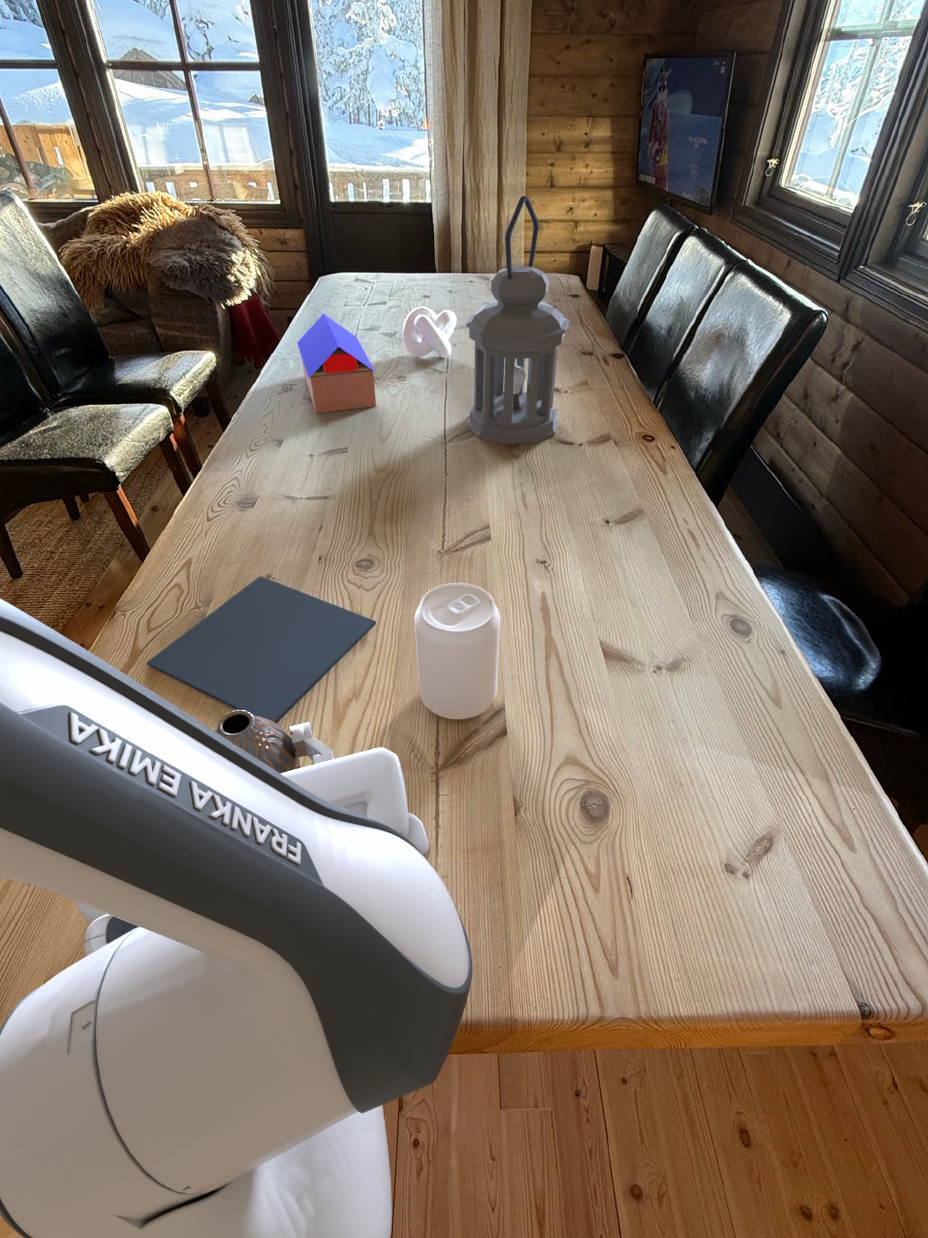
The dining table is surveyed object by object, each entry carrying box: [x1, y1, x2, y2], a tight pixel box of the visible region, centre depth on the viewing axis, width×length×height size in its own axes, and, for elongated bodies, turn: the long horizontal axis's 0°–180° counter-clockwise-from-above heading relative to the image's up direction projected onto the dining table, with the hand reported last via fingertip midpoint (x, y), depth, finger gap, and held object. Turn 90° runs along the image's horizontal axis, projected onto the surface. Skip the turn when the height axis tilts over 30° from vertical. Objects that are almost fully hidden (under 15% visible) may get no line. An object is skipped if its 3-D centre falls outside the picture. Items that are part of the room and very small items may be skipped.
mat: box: [146, 575, 377, 724], centre depth 75 cm, size 18×18×1 cm
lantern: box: [465, 195, 570, 446], centre depth 107 cm, size 17×17×35 cm
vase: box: [214, 709, 302, 774], centre depth 48 cm, size 7×7×9 cm
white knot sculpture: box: [402, 306, 457, 359], centre depth 142 cm, size 11×12×9 cm
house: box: [296, 313, 377, 414], centre depth 127 cm, size 12×20×12 cm, turn 17°
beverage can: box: [414, 582, 501, 720], centre depth 65 cm, size 8×8×12 cm
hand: (244, 743), depth 47 cm, fingers closed on vase, 6 cm apart
